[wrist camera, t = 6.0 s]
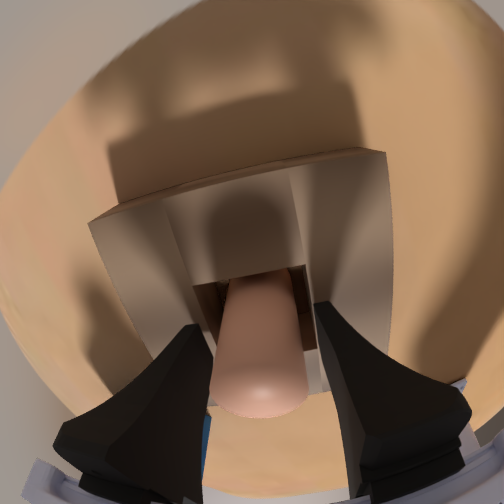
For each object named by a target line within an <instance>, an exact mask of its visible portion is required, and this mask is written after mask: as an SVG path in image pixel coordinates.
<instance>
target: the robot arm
mask: <svg viewBox="0 0 504 504" xmlns="http://www.w3.org/2000/svg"><path fill="white" fill-rule="evenodd" d="M313 307H314V315H315V322H316V330H317V338H318V344H319V349H320V354H321V359H322V363H323V366H324V369H325V373H326V376H327V379H328V382H329V385H330V388H331V392H332V395H333V398H334V401H335V405H336V409H337V413H338V418H339V423H340V429H341V435H342V441H343V447H344V454H345V461H346V468H347V476H348V485H349V494H350V500H346V501H341V502H337V503H331V504H504V428H503V429H502V430H501V431H500V432H499V433H498V434H497V435H496V436H495V437H494V438H493V440H492V441H491V442H489V443H488V444H486V445H484V446H483V447H481V448H480V446H479V444H478V442H477V439H476V437H475V435H474V432H473V430H472V428H471V426H470V424H469V420H470V418H471V416H472V410H471V408H470V406H469V404H468V402H467V401H466V399H465V397H464V396H463V395H462V391H463V389H464V387H465V385H466V383H467V380H466V379H465V378H464V379H462V380H460V381H457V382H455V383H453V384H451V385H448V384H445V383H442V382H439V381H436V380H433V379H431V378H428V377H426V376H424V375H421V374H419V373H417V372H415V371H413V370H411V369H409V368H407V367H406V366H404V365H402V364H400V363H398V362H397V361H395V360H394V359H392V358H390V357H389V356H387V355H386V354H384V353H383V352H382V351H380V350H379V349H378V348H376V347H375V346H374V345H372V344H371V343H370V342H369V341H368V340H366V339H365V338H364V337H363V336H362V335H361V334H360V333H358V332H357V331H356V330H355V329H354V328H353V327H352V326H351V325H350V324H349V323H348V322H347V321H346V320H345V319H344V318H343V316H342V315H341V314H340V313H339V312H338V311H337V310H336V308H335V307H334V306H333V305H332V303H331V302H330V301H323V302H319V303H314V304H313ZM213 361H214V357H213V355H212V353H211V350H210V348H209V346H208V344H207V342H206V339H205V337H204V335H203V332H202V330H201V328H200V326H199V323H196V324H189V325H185V326H184V327H183V328H182V329H181V330H180V331H179V332H178V333H177V335H176V336H175V337H174V338H173V339H172V340H171V341H170V343H169V344H168V345H167V346H166V347H165V348H164V349H163V351H162V352H161V353H160V354H159V355H158V356H157V357H156V358H155V359H154V360H153V362H152V363H151V364H150V365H149V366H148V367H147V368H146V369H145V370H144V371H143V372H142V373H141V374H140V375H139V376H138V377H137V378H135V379H134V380H133V381H132V382H131V383H130V384H128V385H127V386H126V387H125V388H124V389H122V390H121V391H120V392H118V393H117V394H115V395H114V396H113V397H111V398H110V399H108V400H107V401H105V402H104V403H102V404H101V405H99V406H97V407H96V408H94V409H92V410H90V411H88V412H86V413H84V414H82V415H80V416H78V417H76V418H74V419H71V420H69V421H67V422H64V423H63V425H62V426H61V428H60V430H59V433H58V435H57V437H56V439H55V441H54V443H53V448H54V450H55V451H56V452H57V453H58V454H59V455H60V456H61V457H62V458H63V459H65V460H66V461H67V462H69V463H70V464H71V465H73V466H74V467H75V468H77V469H78V470H80V471H81V472H83V474H82V476H81V479H80V480H77V479H75V478H72V477H70V476H68V475H65V474H64V473H63V472H62V471H61V470H59V469H58V468H56V467H55V466H53V465H51V464H49V463H47V462H45V461H43V460H41V459H39V458H36V460H35V462H34V465H33V467H32V469H31V471H30V474H29V476H28V479H27V481H26V483H25V486H24V489H23V491H22V494H21V496H22V497H23V498H24V499H26V500H27V501H29V502H30V503H31V504H203V495H202V471H201V460H202V437H203V425H204V419H205V414H206V409H207V404H208V399H209V394H210V390H209V387H210V381H211V376H212V370H213Z"/></svg>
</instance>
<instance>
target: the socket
mask: <svg viewBox="0 0 504 504" xmlns="http://www.w3.org/2000/svg"><path fill="white" fill-rule="evenodd" d="M88 226H89V229H90V231H91V234H92V237H93V239H94V242H95V244H96V247H97V249H98V252H99V254H100V256H101V259H102V261H103V263H104V266H105V268H106V270H107V272H108V275H109V277H110V279H111V281H112V283H113V285H114V288H115V290H116V292H117V294H118V296H119V298H120V300H121V302H122V304H123V306H124V308H125V310H126V312H127V314H128V316H129V317H130V319H131V321H132V323H133V325H134V327H135V329H136V330H137V332H138V334H139V336H140V337H141V339H142V341H143V343H144V344H145V346H146V348H147V350H148V351H149V353H150V355H151V356H152V358H153V360H154V359H155V358H156V357H157V356H158V355H159V354H160V353H161V352H162V351H163V349H164V348H165V347H166V346H167V345H168V344H169V343H170V341H171V340H172V339H173V338H174V337H175V336H176V335H177V333H178V332H179V331H180V330H181V329H182V328H183V327H184V326H185V325H189V324H196V323H199V326H200V328H201V330H202V332H203V335H204V337H205V339H206V342H207V344H208V346H209V348H210V350H211V353H212V355H213V357H214V360H215V354H216V349H217V344H218V338H219V333H220V328H221V323H222V318H223V313H224V309H223V306H222V303H221V300H220V298H219V295H218V292H217V289H216V286H215V283H214V282H216V281H221V280H227V279H232V278H237V277H243V276H248V275H253V274H258V273H263V272H269V271H274V270H279V269H284V268H289V267H294V266H299V265H302V269H303V275H304V281H305V287H306V294H307V300H308V306H309V312H307V313H302V314H297V315H298V321H299V327H300V333H301V339H302V346H303V352H304V358H305V365H306V372H307V378H308V385H309V393H308V395H312V394H317V393H322V392H327V391H331V388H330V385H329V382H328V379H327V376H326V373H325V369H324V366H323V363H322V359H321V354H320V349H319V344H318V338H317V330H316V322H315V315H314V307H313V304H314V303H319V302H323V301H330V302H331V303H332V305H333V306H334V307H335V308H336V310H337V311H338V312H339V313H340V314H341V315H342V316H343V318H344V319H345V320H346V321H347V322H348V323H349V324H350V325H351V326H352V327H353V328H354V329H355V330H356V331H357V332H358V333H360V334H361V335H362V336H363V337H364V338H365V339H366V340H368V341H369V342H370V343H371V344H372V345H374V346H375V347H376V348H378V349H379V350H380V351H382V352H383V353H384V354H386V355H387V356H388V347H389V338H390V327H391V315H392V298H393V223H392V206H391V193H390V183H389V174H388V165H387V157H386V152H382V151H377V150H372V149H366V148H361V147H356V148H349V149H342V150H335V151H329V152H323V153H317V154H311V155H306V156H300V157H295V158H290V159H285V160H280V161H275V162H270V163H265V164H261V165H256V166H252V167H247V168H243V169H239V170H234V171H230V172H226V173H222V174H218V175H214V176H210V177H207V178H203V179H199V180H196V181H192V182H188V183H185V184H181V185H178V186H174V187H171V188H168V189H164V190H161V191H158V192H155V193H151V194H148V195H145V196H142V197H139V198H136V199H133V200H130V201H127V202H124V203H121V204H118V205H116V206H115V207H113V208H111V209H110V210H108V211H106V212H105V213H103V214H102V215H100V216H98V217H97V218H95V219H94V220H92V221H90V222H89V223H88ZM213 365H214V361H213ZM207 406H218V405H217V404H216V403H215V401H214V400H213V399H212V397H211V395H210V394H209V399H208V404H207Z"/></svg>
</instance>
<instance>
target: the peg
mask: <svg viewBox="0 0 504 504" xmlns="http://www.w3.org/2000/svg"><path fill="white" fill-rule="evenodd" d="M209 390H210V395H211V397H212V399H213V400H214V401H215V403H216V404H217V405H218V406H220V407H221V408H223V409H224V410H226V411H228V412H230V413H233V414H235V415H239V416H243V417H248V418H271V417H276V416H280V415H284V414H286V413H289V412H291V411H293V410H295V409H296V408H298V407H299V406H300V405H301V404H302V403H303V402H304V401H305V400H306V398H307V396H308V393H309V385H308V378H307V372H306V365H305V358H304V352H303V346H302V339H301V333H300V327H299V321H298V315H297V309H296V303H295V298H294V292H293V286H292V281H291V276H290V273H289V271H288V270H287V268H284V269H279V270H274V271H269V272H263V273H258V274H253V275H248V276H243V277H237V278H232V279H230V282H229V287H228V292H227V297H226V302H225V307H224V313H223V318H222V323H221V328H220V333H219V338H218V344H217V349H216V354H215V360H214V365H213V370H212V376H211V381H210V387H209Z"/></svg>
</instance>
